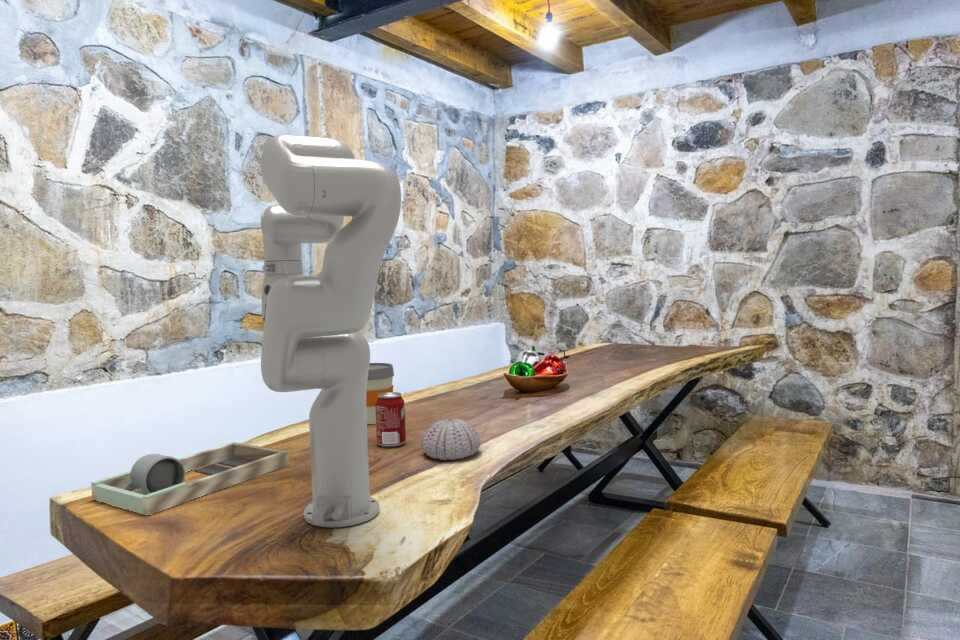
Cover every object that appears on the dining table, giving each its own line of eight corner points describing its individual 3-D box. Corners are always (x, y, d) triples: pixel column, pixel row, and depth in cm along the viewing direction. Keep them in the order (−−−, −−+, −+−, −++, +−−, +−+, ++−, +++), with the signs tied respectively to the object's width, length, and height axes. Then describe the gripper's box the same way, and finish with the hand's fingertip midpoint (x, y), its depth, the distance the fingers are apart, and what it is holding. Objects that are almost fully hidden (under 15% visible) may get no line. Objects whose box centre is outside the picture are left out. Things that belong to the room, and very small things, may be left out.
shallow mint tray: (147, 516, 113) (146, 497, 113) (92, 500, 122) (91, 482, 122) (189, 501, 120) (187, 483, 120) (133, 487, 129) (132, 470, 128)
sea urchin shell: (427, 466, 138) (426, 429, 137) (416, 449, 151) (415, 415, 150) (488, 460, 141) (487, 423, 141) (472, 444, 154) (471, 410, 154)
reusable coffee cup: (340, 421, 180) (337, 366, 178) (378, 413, 188) (376, 361, 187) (366, 428, 171) (363, 371, 169) (404, 420, 179) (403, 365, 178)
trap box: (147, 516, 113) (146, 499, 113) (92, 500, 122) (91, 484, 122) (288, 465, 141) (287, 451, 140) (235, 455, 149) (234, 442, 149)
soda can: (400, 449, 151) (398, 397, 150) (372, 448, 152) (370, 397, 151) (409, 441, 158) (407, 391, 157) (382, 440, 159) (380, 391, 158)
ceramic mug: (167, 483, 130) (164, 446, 130) (187, 492, 125) (184, 452, 124) (110, 500, 122) (106, 460, 122) (129, 510, 117) (125, 468, 116)
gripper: (270, 270, 127) (275, 364, 129) (322, 269, 141) (326, 354, 142) (242, 271, 131) (247, 362, 132) (295, 270, 144) (300, 353, 145)
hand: (288, 358), depth 137 cm, fingers closed
